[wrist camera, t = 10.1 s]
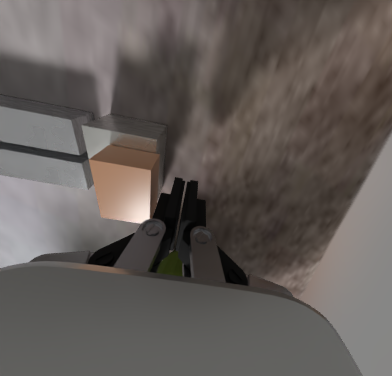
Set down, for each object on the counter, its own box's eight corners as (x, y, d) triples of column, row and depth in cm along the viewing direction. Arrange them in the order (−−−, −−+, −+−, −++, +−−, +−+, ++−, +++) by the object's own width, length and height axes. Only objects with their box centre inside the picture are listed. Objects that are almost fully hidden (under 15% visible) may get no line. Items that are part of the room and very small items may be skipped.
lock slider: (159, 154, 12) (150, 170, 10) (157, 204, 14) (149, 224, 12) (108, 145, 11) (88, 159, 9) (115, 197, 14) (101, 217, 12)
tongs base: (167, 125, 14) (156, 139, 11) (162, 186, 18) (153, 211, 15) (-181, 56, 12) (-319, 48, 9) (-105, 141, 16) (-182, 157, 13)
